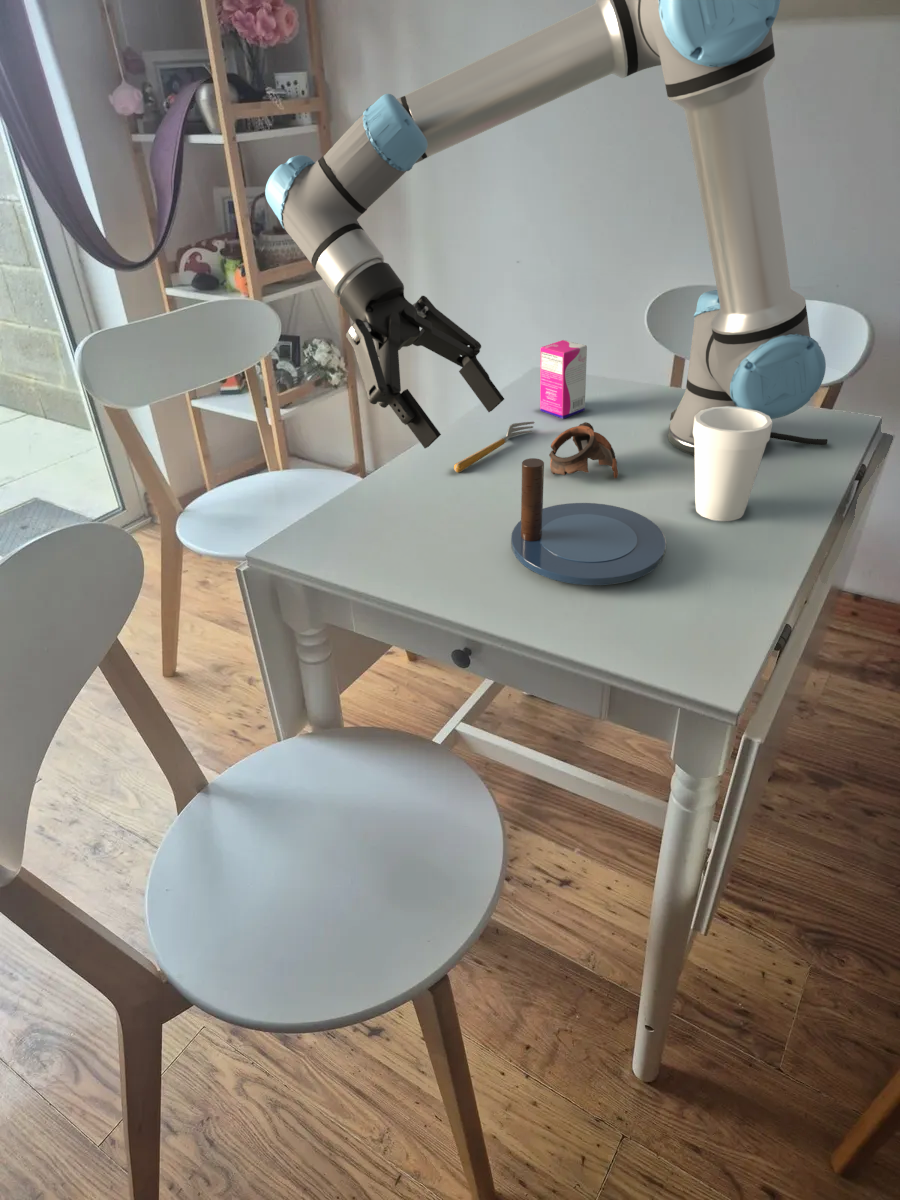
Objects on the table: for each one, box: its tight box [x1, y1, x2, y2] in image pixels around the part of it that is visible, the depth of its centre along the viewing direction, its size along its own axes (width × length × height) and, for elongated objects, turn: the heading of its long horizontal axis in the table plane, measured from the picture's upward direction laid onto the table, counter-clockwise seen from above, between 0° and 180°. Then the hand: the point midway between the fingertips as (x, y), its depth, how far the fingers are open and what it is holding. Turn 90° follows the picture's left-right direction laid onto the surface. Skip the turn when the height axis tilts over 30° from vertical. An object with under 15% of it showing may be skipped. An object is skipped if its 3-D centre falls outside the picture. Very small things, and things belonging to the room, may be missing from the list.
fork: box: [453, 421, 535, 473], centre depth 129 cm, size 2×2×20 cm
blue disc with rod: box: [510, 457, 667, 586], centre depth 99 cm, size 19×19×11 cm
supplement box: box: [539, 339, 588, 420], centre depth 140 cm, size 6×6×12 cm
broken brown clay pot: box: [548, 421, 619, 479], centre depth 121 cm, size 12×10×8 cm
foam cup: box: [693, 406, 773, 522], centre depth 107 cm, size 10×9×13 cm
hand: (466, 423), depth 99 cm, fingers open, 13 cm apart
